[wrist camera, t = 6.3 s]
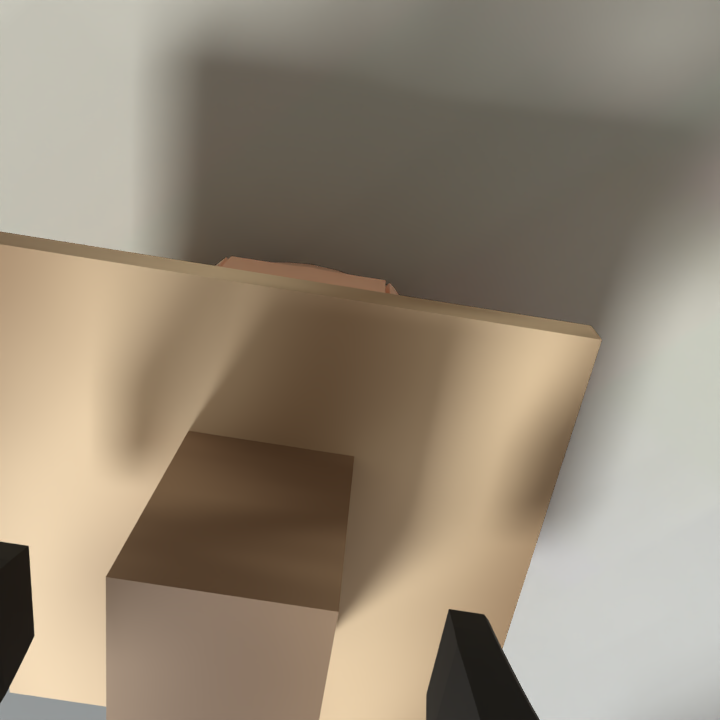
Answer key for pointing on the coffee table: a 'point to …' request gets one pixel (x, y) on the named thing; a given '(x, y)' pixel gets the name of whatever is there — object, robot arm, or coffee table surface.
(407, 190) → the coffee table surface
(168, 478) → the oak lid
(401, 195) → the coffee table surface
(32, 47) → the coffee table surface
